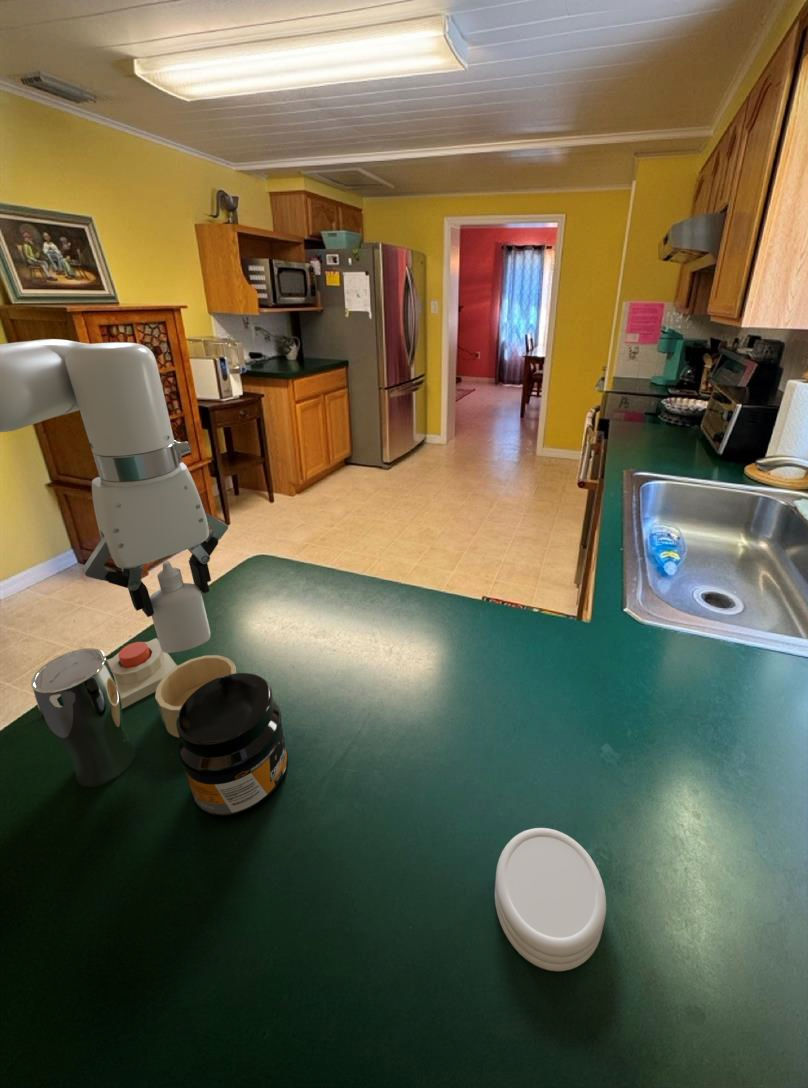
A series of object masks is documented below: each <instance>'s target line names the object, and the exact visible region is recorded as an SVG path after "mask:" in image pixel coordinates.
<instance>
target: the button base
mask: <svg viewBox="0 0 808 1088" xmlns="http://www.w3.org/2000/svg"><path fill="white" fill-rule="evenodd" d="M144 642H145V643H146V644H147V645H148V649H149V652H150V657H149V659H148V660H147V661H145V662H144V663H142V664H140V665H138V666H136V667H130V668H125V667H123V666H122V665H121V662H120V659H119V652H117V653H116V654H115V655H114V656H113V657H110V658H109V659H107V661H108V663H109V665H110V667H111V669H112V671H113V673H114V675H115V678H116V680H117V683H118V687H119V690H120V696H121V703H122V710H123V709H125V708H127V707H129V706H130V705H133V704H134V703H136V702H138V701H140V700H142V699H144V698H146V697H148V696H150V695H152V694H155V693H156V688H157V686H158V685H159V683H160V682H161V680H162V679H163V677H164V676H165V675H166V674H168V673H169V672H170V671H171V670H173V669H174V668H175V667H177V666H178V664H177V663H176V662H175V661H174V659H173V658H172V657H171V655H170V653H165V652H163V651H162V650H161V647H160V643H159V640H158V637H155V638H153V639H151V640H149V641H144Z"/></svg>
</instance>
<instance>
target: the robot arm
mask: <svg viewBox="0 0 808 1088" xmlns="http://www.w3.org/2000/svg"><path fill="white" fill-rule="evenodd" d="M78 411H79V413H80V416H81V420H82V422H83V426H84V430H85V433H86V436H87V439H88V443H89V446H90V450H91V452H92V455H93V459H94V462H95V466H96V469H97V472H98V475H99V476H98V477H95V478H93V479H92V481H91V494H92V495H91V496H92V504H93V509H94V515H95V519H96V524H97V529H98V532H99V535H100V536H99V537H100V541H99V542H98V544H97V545H96V547H95V548H94V550H93V551H92V553H91V555H90V556H89V558H88V559H87V561H86V562H85V564H84V565H83V566H82V572H83V573H84V575H85V576H86V577H88V578H91V579H95V580H99V581H105V582H107V583H108V584H112V585H115V586H119V587H122V588H125V589H128V593H129V597H130V600H131V604H132V606H133V608H134V610H135V611H136V612H138V611H140V610H142V612H143V613H144V615H146V617H147V618H150V617H152V615H153V614H154V610H153V607H152V603H151V600H150V597H151V595H150V594H149V589H148V588H147V585H145V583H144V582H143V581H142V576H143V571H144V565H146V564H148V563H152V562H154V561H158V560H160V559H163V558H166V557H169V556H172V555H174V554H178V553H180V552H184V551H186V550H188V552H189V553H190V554H191V556H190V557H189V560H188V564H189V568H190V569H189V570H190V572H191V576H192V581H193V584H195V585H197V586H198V587H199V588H200V591H201V594H207V593H210V586H209V582H211V581H212V578H211V574H210V569H209V565H208V563H210V561H211V555H212V553H213V552H214V551H215V549H216V548H217V546H218V544H219V541H220V540H221V539H222V538H223V536H224V535H225V533H226V532H227V531H228V529H229V525H228V524H227V523H226V522H224V521H222V520H221V519H219V518H217V517H215V516H213V515H211V514H210V513H208V512H206V511H205V509H204V505H203V503H202V502H203V501H202V500H201V499H202V498H201V497H200V494H199V491H198V489H197V486H196V483H195V480H194V478H193V477H192V475H191V472H190V470H189V468H188V466H187V464H185V463H184V462H183V461H182V456H184V455H185V454H190V453H191V451H192V450H191V445H190V443H189V442H188V441H177V440H175V438H174V437H175V436H174V432H173V429H172V424H171V420H170V415H169V410H168V406H167V402H166V397H165V394H164V389H163V384H162V380H161V375H160V371H159V366H158V364H157V359H156V356H155V355H154V353H153V351H152V350H151V349H150V348H149V347H147V346H146V345H144V344H141V343H137V342H121V341H120V342H118V341H117V342H97V343H86V342H85V343H84V342H80V341H74V340H68V339H58V338H44V339H34V340H26V341H17V342H7V343H0V433H7V432H13V431H17V430H20V429H23V428H26V427H29V426H32V425H35V424H38V423H41V422H44V421H47V420H50V419H53V418H57V417H61V416H65V415H68V414H72V413H75V412H78ZM109 558H111V559H112V560H113V562H114V564H115V567H117V568H115V567H108V566H107V565H106V563H107V561H108V560H109ZM105 565H106V566H105ZM118 568H119V569H118Z"/></svg>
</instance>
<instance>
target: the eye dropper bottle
mask: <svg viewBox="0 0 808 1088" xmlns="http://www.w3.org/2000/svg"><path fill="white" fill-rule="evenodd" d="M156 577H157V580H158V584H159V587H160V588H159V589H158V590H156V591H155V592H153V593H152V594H151V595H150V600H151V603H152V607H153V610H154V614H153V615H152V616H151V620H152V623H153V626H154V630H155V633H156V636H157V637H156V638H157V639H158V641H159V643H160V647H161V650H162V651H163V652H165V653H168V654H173V653H174V654H175V653H180V652H181V653H182V652H185V651H188V650H191V649H194V648H197V647H199V646H202V645H204V644H205V643H207V642H208V641H209V640H210V639H211V629H210V624H209V619H208V615H207V612H206V606H205V602H204V598H203V595H202V594H203V593H202V592H201V591H200V588H199V587H198V586H197V585H195V584H194V583H188V582H184V580H183V579H184V578H183V576H182V572H181V569H180V568H178V567H174V566H172V564H171V562H170V561H169V560H167V561H163V562H162V570H160V571H159V572H158V573H157V575H156Z"/></svg>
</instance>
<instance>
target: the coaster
mask: <svg viewBox="0 0 808 1088" xmlns="http://www.w3.org/2000/svg"><path fill="white" fill-rule="evenodd" d="M494 905H495V910H496V915H497V918H498V921H499V924H500V926H501V928H502V930H503V933H504V935H505V937H506V938H507V940H508V941H509V942H510V944H511V946H512V947H513V948H514V949H515V950H516V952H517V953H518V954H519V955H520V956H522V957H523V958H524V959H525V960H526V961H527V962H529V963H531V964H533V966H536V967H538V968H540V969H543V970H547V971H551V972H566V971H570V970H574V969H575V968H578V967H579V966H581V965H583V964H584V963H585V962H586V961H587V960H589V959H590V958H591V956H592V955H593V954H594V953H595V951H596V949H597V948H598V945H599V943H600V940H601V938H602V933H603V929H604V925H605V921H606V917H607V916H606V915H607V898H606V891H605V886H604V882H603V880H602V876H601V873H600V871H599V869H598V867H597V866H596V863H595V862H594V860H593V859H592V857H591V855H590V854H589V853H588V852H587V850H585V848H584V847H583V846H582V845H581V844H580V843H579V842H577V841H576V840H575V839H574V838H572V837H571V836H570V835H568V834H566V833H564V832H562V831H559V830H556V829H552V828H547V827H534V828H530V829H526V830H523V831H521V832H519V833H518V834H516V835H515V836H513V837H512V838H511V839H510V840H509V841H508V842H507V844H506V845H505V847H504V848H503V849H502V851H501V853H500V855H499V858H498V861H497V865H496V870H495V882H494Z"/></svg>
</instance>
